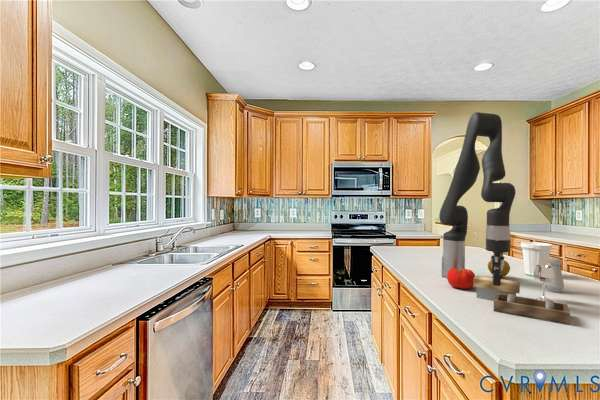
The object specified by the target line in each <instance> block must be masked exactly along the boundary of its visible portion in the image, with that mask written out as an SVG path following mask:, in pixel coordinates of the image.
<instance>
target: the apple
mask: <svg viewBox="0 0 600 400" xmlns="http://www.w3.org/2000/svg"><path fill="white" fill-rule="evenodd" d="M491 263H492V261H491V260H490V261H488V263H487V269H488V271H489V273H491V275H492V276H493V273H492V267H491ZM510 271H511V266H510V263H509V262H508V261H507V260H505V259H504V267H503V271H502V279H504V278H505V277H506V276H507V275H508V274H509V273H510Z"/></svg>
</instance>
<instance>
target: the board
mask: <svg viewBox="0 0 600 400" xmlns="http://www.w3.org/2000/svg"><path fill="white" fill-rule="evenodd" d="M474 287H475V288H477V287H480V288H486V289H493V290H500V291H506V292H513V293H516V294H520V291H521V290H520V289H521V281H519V280H518V281H516V280H509V279H504V278H502V279H501V285H500V286H495V285H493V277H487V276H479V275H475V277H474V278H473V287H472V288H474Z"/></svg>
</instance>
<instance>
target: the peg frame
mask: <svg viewBox="0 0 600 400" xmlns="http://www.w3.org/2000/svg"><path fill="white" fill-rule="evenodd" d="M493 312H496V313H502V314H508V315H513V316H518V317H523V318H530V319H535V320H539V319H540V321H545V322H551V323H557V324H562V325H567V326H570V325H571V311H570V307H569V306H568V304H567V303H563V302H555V301H553V300H552V299H551V300H546V301H544V300H538V299H536V298H531V297H524V296H517V295H516V296H515V295H513V294H508V295H505V294H499V293H496V296H495V298H494V300H493Z"/></svg>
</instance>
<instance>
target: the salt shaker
mask: <svg viewBox="0 0 600 400" xmlns="http://www.w3.org/2000/svg"><path fill="white" fill-rule="evenodd" d="M548 265H549V266H551V267H552V269H553V273H554V280H553V282H551V283H549V284H545V287H547V290H548V291H549V292H552V293H556V294H557V293H559V294H560V293H562V292H563V290H564V289H565V283H564V277H563V273H562V269H561V266H562V265H563V260H562V259H561V258H559V257H558V258H557V257H551V258H550V257H549V261H548Z"/></svg>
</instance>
